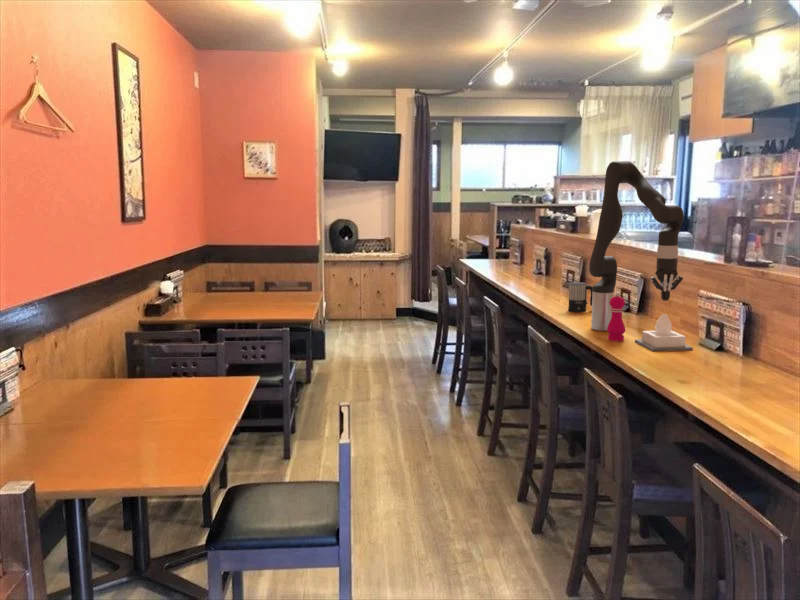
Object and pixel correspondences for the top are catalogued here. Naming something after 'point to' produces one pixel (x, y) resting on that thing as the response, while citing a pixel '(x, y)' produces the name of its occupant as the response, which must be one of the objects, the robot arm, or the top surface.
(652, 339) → the holder
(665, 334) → the white pointed cylinder
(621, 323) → the pepper mill
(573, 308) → the milk frother
